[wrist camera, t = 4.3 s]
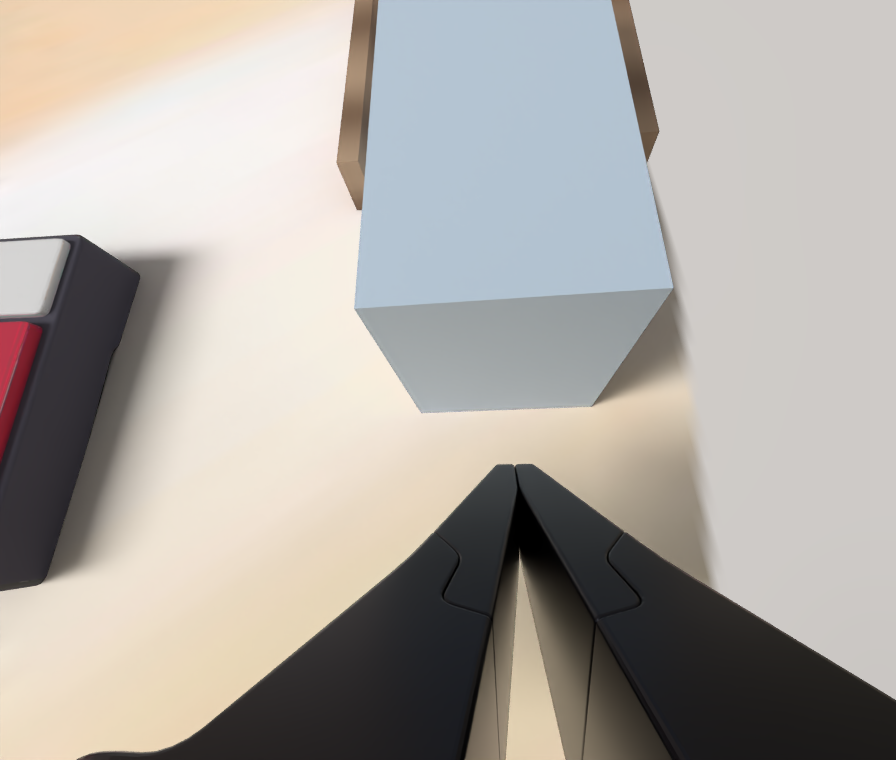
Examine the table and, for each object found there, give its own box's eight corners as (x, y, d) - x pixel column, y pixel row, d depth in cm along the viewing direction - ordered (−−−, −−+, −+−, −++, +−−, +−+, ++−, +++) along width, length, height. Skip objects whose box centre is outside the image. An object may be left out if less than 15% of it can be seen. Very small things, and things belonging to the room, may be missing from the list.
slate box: (591, 407, 18) (673, 287, 9) (421, 414, 18) (354, 308, 10) (554, 121, 23) (585, -118, 15) (425, 135, 24) (385, -85, 15)
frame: (637, 185, 21) (659, 131, 18) (357, 210, 22) (336, 163, 19) (592, -44, 27) (603, -110, 24) (376, -13, 29) (363, -73, 26)
